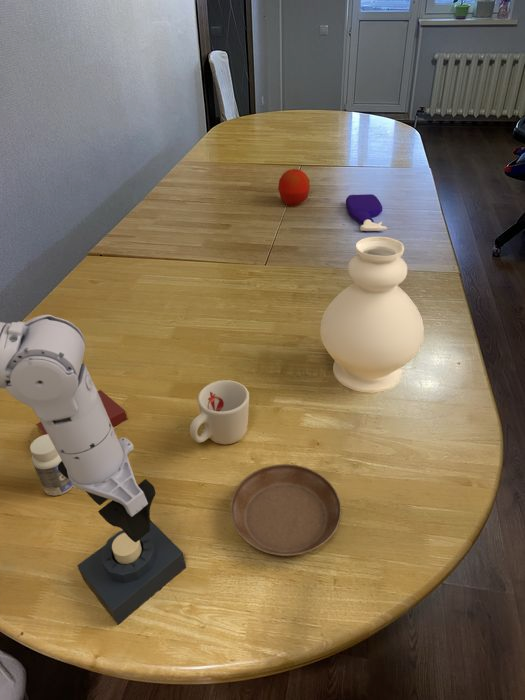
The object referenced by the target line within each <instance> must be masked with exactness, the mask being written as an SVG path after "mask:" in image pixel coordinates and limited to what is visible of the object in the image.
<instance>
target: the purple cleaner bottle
mask: <svg viewBox="0 0 525 700" xmlns="http://www.w3.org/2000/svg"><path fill="white" fill-rule="evenodd" d="M345 209H346V212H347V213H348V215H349V217H350V218H351V219H352V220H355V221H356V223H359V224H360V226H359V227H360V228H359V230H360V231H363V232H364V231H365V232H381V231H387V229H388V226H387V225H386V226H385V225H384V226H383V225H382V224H383V221H379V222H378V223H376V222H375V221H374V219H373V218H375V217H379V215H381V214H382V212H383V204H382V203H381V201H380V200H379V198H378V197H377V196H376V195H375V194H372V193H371V194H370V193H369V194H366V193H365V194H349V195H348V196H347V197H346V198H345Z"/></svg>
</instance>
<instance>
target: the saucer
mask: <svg viewBox="0 0 525 700" xmlns="http://www.w3.org/2000/svg"><path fill="white" fill-rule="evenodd" d="M229 509H230V510H229V511H230V512H229V513H230V520H231V523H232V525H233V527H234V529H235V530H236V532H237V533H238V534H239V536H240V537H241V538H242V539H243V540H244V541H245V542H246V543H247V544H249V546H252V547H253V548H255V549H256V550H259V551H261V552H263V553H265V554H266V553H267V554H270V555H275V556H282V557H291V556H298V555H303V554H307V553H310V552H312V551H314V550H317V549H318V548H320V547H321V546H323V545H324V544H325V543H326V542H327V541H329V540H330V539H331V538H332V536H333V535H334V533H336V531H337V529H338V527H339V524H340V522H341V517H342V503H341V499H340V497H339V494H338V492H337V490H336V489H335V487H334V486H333V484H332V483H331V482H330V481H329V480H328V479H327V478H326V477H325V476H323V475H322V474H320V473H318V472H317V471H315V470H312V469H311V468H309V467H306V466H302V465H298V464H289V463H283V464H273V465H268V466H264V467H261V468H259V469H257V470H255V471H253V472H251V473H250V474H248V475H247V476H246V477H244V479H242V481H241V482H239V484H238V485H237V487H236V488H235V489H234V492H233V495H232V496H231V500H230V506H229Z"/></svg>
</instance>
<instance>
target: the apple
mask: <svg viewBox="0 0 525 700" xmlns="http://www.w3.org/2000/svg"><path fill="white" fill-rule="evenodd" d="M277 186H278V187H277V189H278V192H279V196H280V200H281V201H282V202H283V203H284V204H285V205H287V206H289V207H296V206H300V205H301V204H302V203H303V202H305V201H306V200H307V199H308V197H309V193H310V189H311V186H310V178H309V177H308V175H307V173H305V172H304V171H302V170H301V169H298V168H291V169H288V170H286V171H284V172H283V174H282V175H281V177H280V178H279V180H278V185H277Z"/></svg>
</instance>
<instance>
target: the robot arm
mask: <svg viewBox="0 0 525 700" xmlns="http://www.w3.org/2000/svg"><path fill="white" fill-rule="evenodd" d="M85 353H86V339H85V336H84V335H83V333H82V331H81V330H80V329H79V328H78V327H77V325H76V324H74V323H72V322H71V321H69V320H67V319H64V318H61V317H57V316H54V315H51V314H41V315H37V316H34V317H32V318H31V319H29V320H27V321H17V322H16V321H12V322H4V321H0V389H4V390H5V389H6V391H7V392H8V393H9V395H10V396H11V397H13V398H14V399H15V400H17V401H18V402H20V403H22V404H24V405H27V406H28V407H29V408H31V409H32V411H33V412H34V414H35V415H36V417H37V419H39V422H41V423H42V424H43V426H44V428H45V430H46V432H47V434H48V436H49V437H50V439H51V441H52V443H53V445H54V447H55V449H56V451H57V452H58V454H59V456H60V458H61V460H62V461H61V462H60V463H59V465H58V470H59V471H60V472H61V473H62V475H63V476H64V477H66V478H68V479H70V481H71V483H72V484H73V485H74V486H73V487H75V488H76V489H79V490H81V491H83V492H85V493H86V494H87V495H88V496H89V497H90V498H91V499H92V500H93V502H94V503H96V504H97V505H99V506H101V505H103V504H104V503H105V502H106V501H108V500H110V501H109V502H108V503H107V504H105V505H104V506H102V508H100V509H98V511H97V512H98V514H99V515H100V517H102V518H103V520H105V521H106V523H108V524H109V525H111V526H112V527H115V528H119V529H121V531H122V530H123V531H124V532H125V533H126V535H127V536H128V537H129V538H130V539H131V540H132V541H134V542H137V541H138V540H140V539H141V538H142V537H143V536H144V535H146V534H147V533H148V532H149V531H150V520H151V517H150V516H151V506H152V503H153V500H154V498H155V496H156V489H155V487H154V485H153V484H152V482H150V481H149V480H148V479H147V478H145V479H143V480H142V481H141V482H140V483H138V482H137V480H136V477H135V474H134V472H133V468H132V466H131V463H130V460H129V457H128V455H129V453H131V452H132V451H133V450H134V448H135V447H134V445H133V443H132V442H131V440H129V439H128V438H127V437H123V436H122V437H120V438H119V439H118V436H117V434H116V431H115V429H114V427H113V426H112V424H111V422H110V419H109V417H108V415H107V412H106V410H105V408H104V405H103V403H102V401H101V398H100V396H99V394H98V391H99V390H98V389H97V387H96V385H95V383H94V381H93V379H92V377H91V374H90V373H89V369H88V367H87V365H86V364H85V363H83V360H84V356H85ZM137 483H138V484H137Z"/></svg>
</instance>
